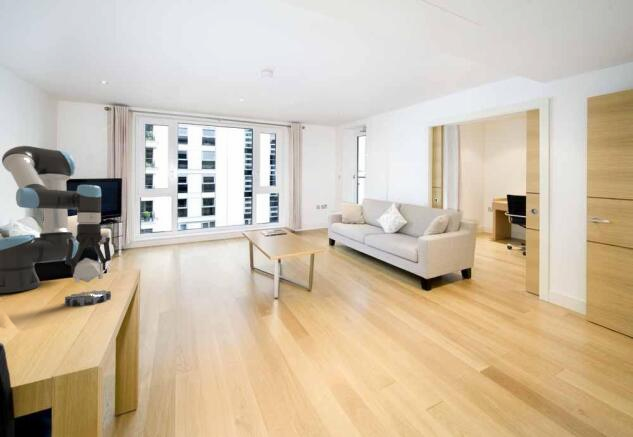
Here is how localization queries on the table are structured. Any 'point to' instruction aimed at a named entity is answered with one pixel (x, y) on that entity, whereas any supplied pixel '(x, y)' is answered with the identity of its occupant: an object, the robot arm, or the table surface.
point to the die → (87, 270)
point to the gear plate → (87, 298)
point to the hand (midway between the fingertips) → (88, 280)
